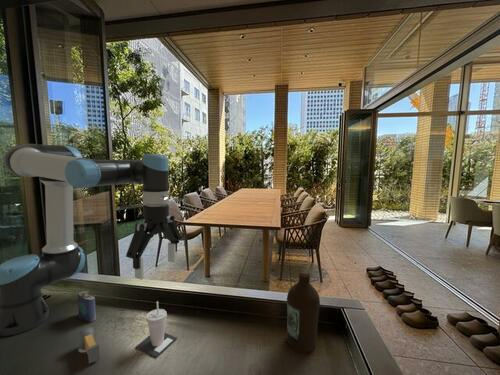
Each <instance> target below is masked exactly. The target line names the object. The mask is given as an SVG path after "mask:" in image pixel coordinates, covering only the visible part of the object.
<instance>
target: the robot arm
mask: <svg viewBox="0 0 500 375" xmlns="http://www.w3.org/2000/svg"><path fill="white" fill-rule="evenodd" d="M2 162H3V164H4V166H5V168H6V170H8V172H10V173H11V174H14V175H16V176H19V177H24V178H35V177H37V178H39V181H40V182H41V183H43V185H44V191H45V222H46V223H45V224H46V225H45V228H46V229H45V230H46V244H45V245H44V246H43V247H42V248H41V255H40V256H38V254H35V253H34V254H31V253H30V254H25V255H20V256H16V257H14V258H11V259H9V260H6V261H4V262H2V263H0V337H8V336H9V337H10V336H15V335H17V334H21V333H24V332H27V331H30V330H32V329H34V328H36V327H38V326H39V325H41V324H42V323H44V322H45V321H46V320H47V319H48V317H49V316H50V309H49V306H48V304H47V303H46V302H45V300H44V298H43V296H42V289H43V288H44V287H47V286H49V285H52V284H54V283H55V284H56V283H57V282H60V281H62V280H64V279H69V278H71V277H72V276H74V275H77V274H78V273H80V272H81V271H82V270H83V268H84V266H85V264H86V256H85V253H84V250H83V248H82V247H80V246H79V244H78V243H77V242H75V240H74V188H75V189H76V188H77V189H78V188H79V189H81V188H83V189H89V188H93V187H95V188H96V187H103V186H115V185H125V184H126V185H127V184H128V185H129V184H135V185H137V184H138V185H142V204H144V205H143V206H142V216H143V218H144V222H143V223H139V222H137V223H135V226H134V233H133V235H132V238H131V240H130V242H129V246H128V249H127V251H126V254H125V257H126V258H128V259H132V268H133V269H134V278H135V279H139V280H143V279H145V277H144V276H145V275H144V257H143V253H144V252H145V250H146V248H147V247H148V245H149V242H150V241H151V239H152V238H153V237H154V236H156V235H159V234H163V235H164V236H165V238H166V239H167V240H168V241H169V242H168V243H167V252H168V253H167V262H169V263H174V264H175V263H177V262H176V260H177V258H176V257H177V256H176V254H177V244H179V243H180V240H181V239H182V236H181V233H180V231H179V229H178V225H177V223H176V221H175V219H176V218H175V216H174V215H171V214H170V213H169V212H170V210H169V209H170V208H169V207H170V206H169V194H170V193H169V174H170V165H169V158H168V155H166V154H154V153H153V154H152V153H151V154H149V153H144V154H143V155H142V157H141V160H140V159H139V160H138V159H129V158H128V159H126V158H125V159H124V158H123V159H96V158H95V159H94V158H93V159H92V158H86V157H83V155H82V153H81V152H80V151H79V150H78V149H77V148H75V147H74V146H69V145H64V144H63V145H60V144H58V145H57V144H37V143H36V144H35V143H23V144H19V145H15V146H12V147H10V149H8V150H7V151H6V152H5V154H4V156H3V161H2Z"/></svg>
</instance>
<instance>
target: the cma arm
mask: <svg viewBox="0 0 500 375" xmlns="http://www.w3.org/2000/svg"><path fill="white" fill-rule="evenodd" d="M94 336H95V335H94V327H93V326H92V327H91V326H89V327H85V328H83V329H81V330H80V332H79V340H80V345H79V346H81V349H82V350H86V355H87V358H88V359H87V360H88V363H89V364H91V363H94V362H96V361H98V360H99V359H100V345H99V343H97V344H96V343H95V341H96V340H95V338H94ZM94 340H95V341H94Z"/></svg>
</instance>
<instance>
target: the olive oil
mask: <svg viewBox="0 0 500 375" xmlns="http://www.w3.org/2000/svg"><path fill="white" fill-rule="evenodd" d="M310 277H311V276H310V271H309V270H308V269H305V268H304V269H300V270H299V274H298V281H297V282H296V283H295V284H294V285H292V286H291V287H290V288H289V290H288V292H287V296H286V315H287V316H286V323H287V324H286V326H287V327H286V328H287V329H286V333H287V334H286V340H287V344H288V346H289V347H290V348H291V349H292V350H294V351H296V352H299V353H305V354H307V353H310V352H312V351H314V350H315V348H316V344H317V336H318V335H317V334H318V323H319V316H320V307H321V306H320V305H321V300H320V298H321V297H320V296H319V292H318V291H317V290H316V288H315V287H314V286H313V285H312V284H311V283H310Z"/></svg>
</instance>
